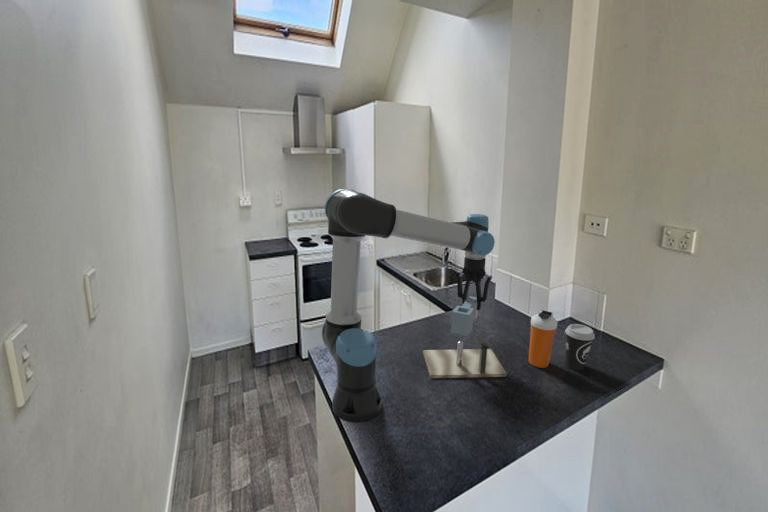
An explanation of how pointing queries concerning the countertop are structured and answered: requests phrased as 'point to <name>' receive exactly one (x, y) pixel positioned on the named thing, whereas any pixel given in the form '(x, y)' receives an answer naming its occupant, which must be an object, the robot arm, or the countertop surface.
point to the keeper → (482, 352)
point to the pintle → (459, 353)
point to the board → (445, 364)
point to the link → (463, 317)
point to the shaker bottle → (541, 338)
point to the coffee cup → (577, 345)
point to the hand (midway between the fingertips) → (470, 316)
